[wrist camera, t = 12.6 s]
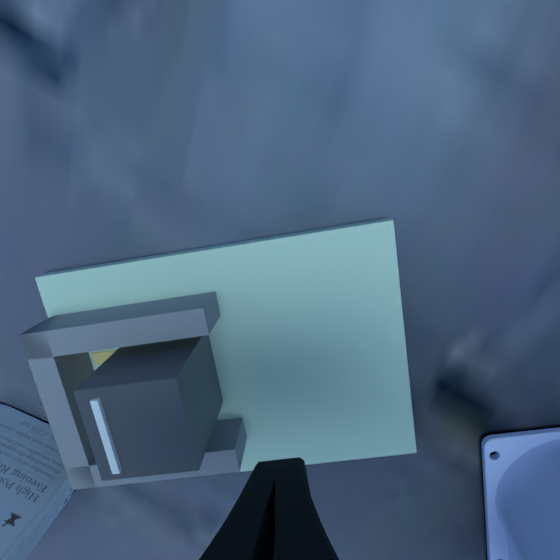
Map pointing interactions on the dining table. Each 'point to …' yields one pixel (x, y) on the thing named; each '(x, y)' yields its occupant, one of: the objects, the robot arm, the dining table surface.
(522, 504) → the robot arm
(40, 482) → the skincare box
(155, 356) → the plug
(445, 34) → the dining table surface
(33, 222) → the dining table surface
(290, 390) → the board
